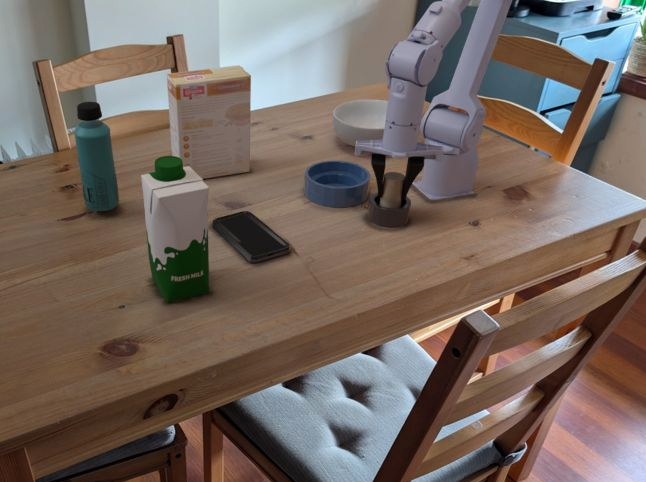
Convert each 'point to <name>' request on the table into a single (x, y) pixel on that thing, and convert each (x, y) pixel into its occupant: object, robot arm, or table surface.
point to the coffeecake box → (211, 119)
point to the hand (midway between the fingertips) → (391, 195)
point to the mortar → (388, 213)
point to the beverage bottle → (96, 159)
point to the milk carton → (177, 229)
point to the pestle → (392, 190)
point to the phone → (250, 236)
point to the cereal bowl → (360, 120)
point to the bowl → (336, 183)
